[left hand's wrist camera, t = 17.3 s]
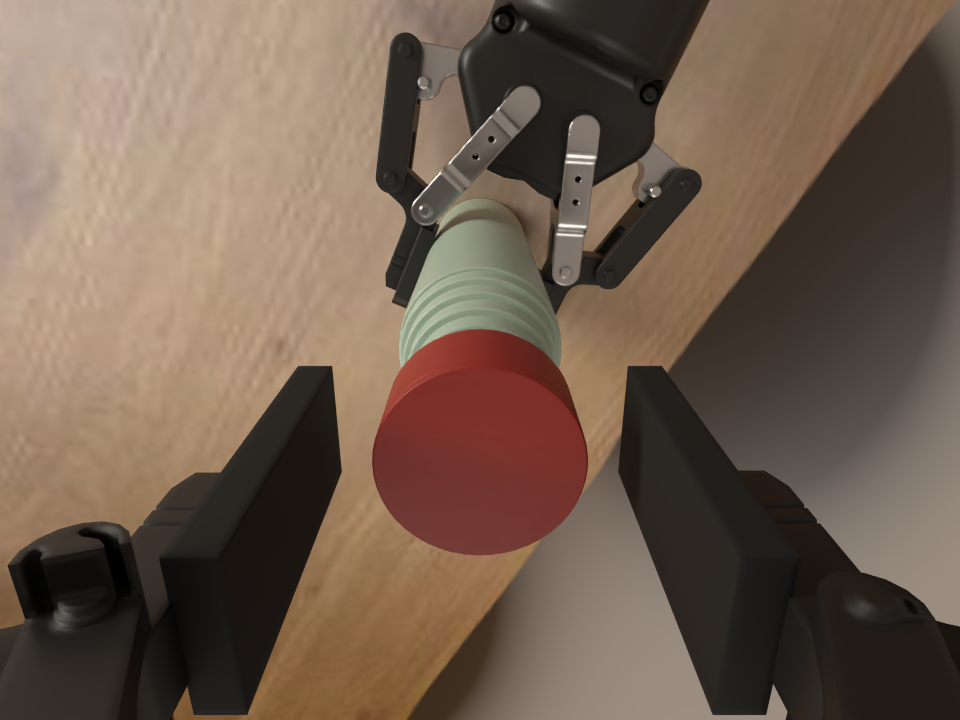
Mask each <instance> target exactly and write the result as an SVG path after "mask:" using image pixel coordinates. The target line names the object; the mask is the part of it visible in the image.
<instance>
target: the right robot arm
mask: <svg viewBox="0 0 960 720" xmlns="http://www.w3.org/2000/svg"><path fill="white" fill-rule="evenodd" d="M709 1H710V0H496V1H495V3H494V6H493V8H492V11H491V13H490V16H489V18H488V20H487V22H486V24H485V26H484V27H483V29H482V30H481V31H480V32H479V33H478V34H477V35H476V36H475V37H474V38H473V39H472V40H470V41H469V42H468V43H467V44H466V45H465V47H464V48H463V50H461V49H456V48H451V47H445V46H440V45H435V44H430V43H425V42H421V41H419V40H418V39H417V38H416V37H415V36H414V35H412V34H410V33H400V34H398V35H397V36H396V37H394V39H393V40H392V42H391V46H390V53H389V62H388V71H387V80H386V89H385V98H384V107H383V116H382V125H381V134H380V143H379V152H378V161H377V170H376V182H377V184H378V186H379V187H380V189H381V190H383V191H384V192H387V193H389V194H390V195H391V196H392V197H393V198H394V199H395V200H396V201H397V202H399V203H400V204H401V206H402V207H403V209H404V211H405V214H406V223H405V226H404V228H403V231H402V233H401V236H400V239H399V241H398V244H397V246H396V249H395V251H394V254H393V257H392V259H391V262H390V264H389V267H388V269H387V272H386V286H387V287H389V288H392V289H394V290H396V293H395V295H394V298H393V300H392V303H394V304H397V305H399V306H402V307H404V308H406V307H407V305H408V303H409V300H410V298H411V295H412V293H413V290H414V288H415V285H416V283H417V281H418V278H419V276H420V273H421V271H422V268H423V266H424V263H425V260H426V258H427V256H428V253H429V251H430V249H431V246H432V244H433V242H434V239H435V237H436V234H437V232H438V229H439V226H440V225H438V224H436V223H437V220H438V219H439V218H440V216H441V215H442V214H443V213H444V212H445V211H446V210H447V209H448V208H449V207H450V206H451V204H452V203H453V202H454V201H455V200H456V199H457V198H458V197H459V196H460V195H461V194H462V193H463V192H464V191H465V190H466V189H467V188H468V187H469V186H470V185H471V184H472V183H473V182H474V181H475V179H476V178H477V177H478V176H479V175H480V174H481V173H482V172H483V171H484V170H485V169H486V168H487V170H489V171H491V172H493V173H496V174H498V175H500V176H502V177H504V178H511V179H517V180H523V181H525V182H526V183H527V184H529V185H530V186H531V187H532V188H533V189H535V190H536V191H537V192H538V193H540V194H542V195H544V196H546V197H548V198H551V206H550V229H549V240H548V250H547V260H546V262H545V264H544V266H543V268H542V270H540V269H538V271H539V273H540V276H541V278H542V281H543V284H544V286H545V289H546V292H547V294H548V297H549V300H550V302H551V305H552V308H553V310H554V313H555V315H556V313H557V311H558V309H559V307H560V305H561V303H562V301H563V299H564V297H565V295H566V293H567V292H568V291H569V290H570V289H571V288H572V287H574V286H576V285H581V284H585V285H599V286H600V287H602V288H604V289H613V288H615V287H617V286H618V285H619V284H620V283H621V282H622V281H623V280H624V279H625V277H626V276H627V275H628V274H629V273H630V272H631V271H632V269H633V268H634V267H635V266H636V265H637V264H638V262H639V261H640V260H641V259H642V258H643V257H644V255H645V254H646V253H647V252H648V251H649V250H650V248H651V247H652V246H653V245H654V244H655V243H656V241H657V240H658V239H659V238H660V237H661V236H662V234H663V233H664V232H665V231H666V230H667V229H668V227H669V226H670V225H671V224H672V223H673V222H674V220H675V219H676V218H677V217H678V216H679V215H680V213H681V212H682V211H683V210H684V209H685V208H686V206H687V205H688V204H689V203H690V202H691V201H692V199H693V198H694V197H695V196H696V195H697V194H698V192H699V191H700V188H701V184H702V182H701V177H700V175H699V174H698V173H697V172H696V171H694V170H691V169H689V168H686V167H682V166H680V165H679V164H678V163H677V162H676V161H675V160H673V159H672V158H671V157H670V156H669V155H668V154H667V153H665V152H664V151H663V150H662V149H661V148H660V147H658V146H657V145H656V144H655V143H654V142H653V140H654V135H655V115H656V110H657V107H658V104H659V102H660V99H661V97H662V95H663V94H664V92H665V90H666V88H667V86H668V84H669V82H670V80H671V78H672V76H673V73H674V71H675V69H676V67H677V65H678V63H679V61H680V59H681V57H682V55H683V53H684V51H685V49H686V47H687V45H688V43H689V41H690V39H691V37H692V35H693V33H694V31H695V29H696V27H697V25H698V23H699V21H700V19H701V17H702V15H703V13H704V11H705V9H706V7H707V5H708V3H709ZM451 76H459V81H460V85H461V90H462V95H463V99H464V104H465V109H466V114H467V118H468V123H469V128H470V133H471V137H470V138H469V140H468V141H467V142H466V143H465V144H464V145H463V146H462V147H461V149H460V150H459V151H458V152H457V153H456V154H455V155H454V156H453V157H452V159H451V160H450V161H449V162H448V163H447V164H446V165H445V167H444V168H443V169H442V170H441V171H440V172H439V173H438V174H437V175H436V177H435V178H434V179H433V180H432V181H431V182H430V183H429V184H428V185H427V184H426V183H425V182H424V181H423V180H422V179H421V178H420V177H419V176H418V175H417V174H416V173H415V172H414V171H413V170H412V166H413V159H414V151H415V143H416V136H417V128H418V120H419V113H420V105H421V100H432V99H434V98H435V97H436V96H437V95H438V94H439V92H440V89H441V86H442V84H443V82H444V81H445V80H446V79H447V78H448V77H451ZM475 153H476V155H474V154H475ZM634 162H636V163H637V165H638V176H637V178H636V179H635V181H634V183H633V187H632V191H633V194H634V196H635V198H636V201H635V202H634V203H633V204H632V205H631V207H630V208H629V209H628V210H627V211H626V213H625V214H624V215H623V216H622V218H621V219H620V220H619V221H618V222H617V224H616V225H615V226H614V227H613V228H612V230H611V231H610V232H609V233H608V234H607V236H606V237H605V238H604V239H603V240H602V242H601V243H600V244H599V245H598V247H597V248H596V249H595V250H594V251H593V252H591V251H583V243H584V235H585V233H586V230H587V226H588V219H589V210H590V202H591V194H592V187H593V186H595V185H597V184H598V183H600V182H602V181H604V180H605V179H607V178H609V177H610V176H612V175H614V174H616V173H617V172H619V171H621V170H622V169H624V168H626V167H628V166H629V165H631V164H633V163H634Z"/></svg>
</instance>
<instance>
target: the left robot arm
mask: <svg viewBox="0 0 960 720" xmlns="http://www.w3.org/2000/svg"><path fill="white" fill-rule="evenodd" d="M618 472H619V475H620V477H621V480H622V483H623V485H624V488H625V490H626V493H627V496H628V498H629V501H630V503H631V506H632V508H633V511H634V514H635V516H636V519H637V521H638V524H639V526H640V529H641V531H642V534H643V537H644V539H645V542H646V544H647V547H648V550H649V552H650V555H651V557H652V560H653V562H654V565H655V567H656V570H657V573H658V575H659V578H660V580H661V583H662V586H663V588H664V591H665V593H666V596H667V598H668V601H669V603H670V606H671V609H672V611H673V614H674V616H675V619H676V621H677V624H678V627H679V629H680V632H681V634H682V637H683V639H684V642H685V645H686V647H687V650H688V652H689V655H690V657H691V660H692V663H693V665H694V668H695V670H696V673H697V675H698V678H699V681H700V683H701V686H702V688H703V691H704V694H705V696H706V699H707V701H708V704H709V706H710V709H711V712H712V714H713V715H766V713H767V709H768V704H769V700H770V695H771V691H772V686H773V684H774V686H775V688H776V690H777V692H778V694H779V696H780V698H781V700H782V702H783V704H784V705H785V707H786V709H787V711H788V712H787V716H786V720H960V627H959V626H954V625H950V624H946V623H942V622H939V621H936V620H935V618H934V617H933V616H932V614H931V613H930V611H929V610H928V608H927V607H926V606H925V604H924V603H922V602H921V601H920V600H919V599H917V598H916V597H915V596H914V595H912V594H911V593H910V592H909V591H907V590H906V589H904V588H902V587H900V586H898V585H896V584H894V583H892V582H890V581H888V580H886V579H882V578H879V577H876V576H872V575H869V574H866V573H861V572H860V571H859V570H858V568H857V567H856V566H855V565H854V564H853V562H852V561H851V560H850V559H849V558H848V557H847V555H846V554H845V553H844V552H843V551H842V549H841V548H840V547H839V546H838V545H837V543H836V542H835V541H834V540H833V539H832V537H831V536H830V535H829V534H828V533H827V531H826V530H825V529H824V528H823V527H822V525H821V524H817V519H816V518H815V517H814V516H813V515H812V513H811V512H810V511H809V510H808V509H807V508H804V504H803V503H802V501H801V500H800V499H799V498H798V497H797V495H796V494H795V493H794V492H793V491H792V489H791V488H790V487H789V486H788V485H786V484H784V483H783V482H781V481H780V480H778V479H777V478H775V477H773V476H772V475H770V474H769V473H767V472H766V471H738V470H737V469H736V467H735V466H734V465H733V463H732V462H731V461H730V459H729V458H728V456H727V455H726V454H725V452H724V451H723V450H722V448H721V447H720V446H719V444H718V443H717V441H716V440H715V439H714V437H713V436H712V434H711V433H710V432H709V430H708V429H707V428H706V426H705V425H704V423H703V422H702V421H701V419H700V418H699V417H698V415H697V414H696V413H695V411H694V410H693V408H692V407H691V406H690V404H689V403H688V402H687V400H686V399H685V397H684V396H683V395H682V393H681V392H680V390H679V389H678V388H677V386H676V385H675V384H674V382H673V381H672V380H671V378H670V377H669V375H668V374H667V373H666V371H665V370H664V369H663V367H662V366H628V371H627V382H626V393H625V404H624V415H623V426H622V437H621V448H620V459H619V470H618ZM341 473H342V470H341V459H340V448H339V437H338V426H337V415H336V404H335V393H334V382H333V371H332V366H298V367H297V369H296V370H295V371H294V373H293V374H292V375H291V377H290V378H289V380H288V381H287V382H286V384H285V385H284V386H283V388H282V389H281V390H280V392H279V393H278V395H277V396H276V397H275V399H274V400H273V401H272V403H271V404H270V406H269V407H268V408H267V410H266V411H265V412H264V414H263V415H262V417H261V418H260V419H259V421H258V422H257V423H256V425H255V426H254V428H253V429H252V430H251V432H250V433H249V434H248V436H247V437H246V439H245V440H244V441H243V443H242V444H241V445H240V447H239V448H238V450H237V451H236V452H235V454H234V455H233V456H232V458H231V459H230V461H229V462H228V463H227V465H226V466H225V467H224V469H223V470H222V472H221V473H195V474H193V475H192V476H190V477H188V478H187V479H185V480H184V481H182V482H181V483H179V484H178V485H176V486H174V487H173V488H171V490H170V491H169V492H168V493H167V494H166V496H165V497H164V498H163V499H162V500H161V502H160V503H159V504H158V505H157V506H156V510H153V511H152V512H151V514H150V515H149V516H148V517H147V519H146V520H145V521H144V525H143V526H140V527H139V528H138V529H137V531H136V532H135V533H134V534H133V535H132V537H131V538H130V534H129V531H128V530H126V529H125V528H124V527H122V526H121V525H120V524H114V523H109V522H91V523H81V524H77V525H74V526H70V527H66V528H62V529H59V530H57V531H54V532H52V533H50V534H48V535H45V536H43V537H41V538H39V539H37V540H35V541H34V542H32V543H31V544H30V545H28V546H27V547H25V548H24V549H22V550H21V551H19V552H18V554H17V555H16V556H15V557H14V558H13V559H12V561H11V562H10V563H9V564H8V568H9V571H10V574H11V577H12V580H13V583H14V586H15V589H16V592H17V595H18V598H19V601H20V604H21V607H22V611H23V614H24V617H25V621H24V624H21V625H17V626H13V627H9V628H4V629H0V720H174V716H173V713H174V711H175V709H176V707H177V705H178V703H179V701H180V699H181V697H182V695H183V693H184V691H185V689H186V687H187V686H188V691H189V695H190V700H191V704H192V709H193V713H194V715H247V714H248V712H249V709H250V706H251V704H252V701H253V699H254V696H255V694H256V691H257V688H258V686H259V683H260V681H261V678H262V676H263V673H264V670H265V668H266V665H267V663H268V660H269V658H270V655H271V652H272V650H273V647H274V645H275V642H276V640H277V637H278V634H279V632H280V629H281V627H282V624H283V622H284V619H285V616H286V614H287V611H288V609H289V606H290V604H291V601H292V598H293V596H294V593H295V591H296V588H297V586H298V583H299V580H300V578H301V575H302V573H303V570H304V568H305V565H306V562H307V560H308V557H309V555H310V552H311V550H312V547H313V544H314V542H315V539H316V537H317V534H318V532H319V529H320V526H321V524H322V521H323V519H324V516H325V514H326V511H327V508H328V506H329V503H330V501H331V498H332V496H333V493H334V490H335V488H336V485H337V483H338V480H339V478H340V475H341Z"/></svg>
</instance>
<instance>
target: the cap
mask: <svg viewBox="0 0 960 720" xmlns="http://www.w3.org/2000/svg"><path fill="white" fill-rule="evenodd" d="M372 466H373V475H374V479H375V483H376V487H377V490H378V492H379V494H380V497H381V499H382V501H383V502H384V504H385V506H386V507H387V509H388V511H389V512H390V513H391V514H392V516H393V517H394V518H395V519H396V520H397V521H398V522H399V523H400V524H401V525H402V526H403V527H404V528H405V529H406V530H407V531H409V532H410V533H411V534H413V535H414V536H416V537H417V538H419V539H421V540H422V541H424V542H426V543H428V544H430V545H433V546H435V547H437V548H440V549H443V550H447V551H450V552H455V553H460V554H467V555H493V554H500V553H506V552H510V551H514V550H517V549H520V548H523V547H525V546H528V545H530V544H532V543H534V542H536V541H538V540H540V539H541V538H543V537H544V536H546V535H547V534H549V533H550V532H552V531H553V530H554V529H555V528H556V527H557V526H559V525H560V524H561V523H562V522H563V520H564V519H565V518H566V517H567V516H568V515H569V513H570V512H571V510H572V509H573V508H574V506H575V505H576V503H577V501H578V499H579V497H580V495H581V493H582V490H583V487H584V484H585V481H586V475H587V469H588V454H587V446H586V441H585V438H584V434H583V431H582V428H581V425H580V422H579V419H578V416H577V412H576V409H575V406H574V403H573V400H572V397H571V394H570V391H569V388H568V385H567V383H566V381H565V379H564V376H563V375H562V373H561V372H560V370H559V368H558V367H557V366H556V364H555V363H554V362H553V361H552V360H551V358H550V357H549V356H547V355H546V354H545V353H544V352H543V351H542V350H541V349H539V348H538V347H536V346H535V345H533V344H532V343H530V342H528V341H526V340H525V339H523V338H521V337H518V336H515V335H512V334H510V333H506V332H501V331H497V330H488V329H471V330H464V331H458V332H454V333H451V334H448V335H445V336H442V337H440V338H438V339H435V340H433V341H432V342H430V343H428V344H427V345H425V346H423V347H422V348H421V349H420V350H418V351H417V352H416V353H415V354H414V355H413V356H412V357H411V358H410V359H409V360H408V361H407V362H406V363H405V365H404V366H403V367H402V369H401V370H400V372H399V373H398V375H397V377H396V379H395V381H394V383H393V386H392V389H391V392H390V395H389V398H388V401H387V404H386V407H385V410H384V413H383V416H382V419H381V423H380V426H379V429H378V432H377V435H376V438H375V442H374V447H373V458H372Z"/></svg>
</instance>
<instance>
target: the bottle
mask: <svg viewBox="0 0 960 720" xmlns="http://www.w3.org/2000/svg"><path fill="white" fill-rule="evenodd" d="M439 225H440V226H439V229H438V232H437V234H436V237H435V239H434V242H433V244H432V246H431V249H430V251H429V253H428V256H427V258H426V260H425V263H424V266H423V268H422V271H421V274H420V276H419V279H418V282H417V284H416V287H415V289H414V292H413V295H412V297H411V300H410V303H409V305H408V308H407V311H406V313H405V316H404V319H403V322H402V326H401V331H400V346H399V358H400V365H401V369H402V367H403V366H404V365H405V363H406V362H407V361H408V360H409V359H410V358H411V357H412V356H413V355H414V354H415V353H416V352H417V351H418V350H420V349H421V348H422V347H423V346H425V345H427V344H428V343H430V342H432V341H433V340H435V339H438V338H440V337H442V336H445V335H448V334H451V333H454V332H458V331H464V330H471V329H488V330H497V331H501V332H506V333H510V334H512V335H515V336H518V337H521V338H523V339H525V340H526V341H528V342H530V343H532V344H533V345H535V346H536V347H538V348H539V349H541V350H542V351H543V352H544V353H545V354H546V355H547V356H549V357H550V358H551V360H552V361H553V362H554V363H555V364H556V366H557V367H558V368H559V366H560V359H561V337H560V330H559V324H558V321H557V318H556V316H555V313H554V310H553V308H552V305H551V302H550V300H549V297H548V294H547V292H546V289H545V286H544V284H543V281H542V278H541V276H540V273H539V271H538V268H537V265H536V263H535V260H534V257H533V255H532V252H531V249H530V247H529V244H528V241H527V239H526V236H525V234H524V231H523V228H522V226H521V224H520V222H519V220H518V218H517V217H516V216H515V214H514V213H513V212H512V211H511V210H510V209H509V208H507V207H506V206H504V205H503V204H501V203H499V202H497V201H494V200H490V199H484V198H477V199H470V200H466V201H464V202H461V203H459V204H457V205H456V206H454V207H453V208H452V209H450V210H449V211H448V212H447V213H446V215H445V216H444V217H443V219H442V220H441V222H440V224H439Z"/></svg>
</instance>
